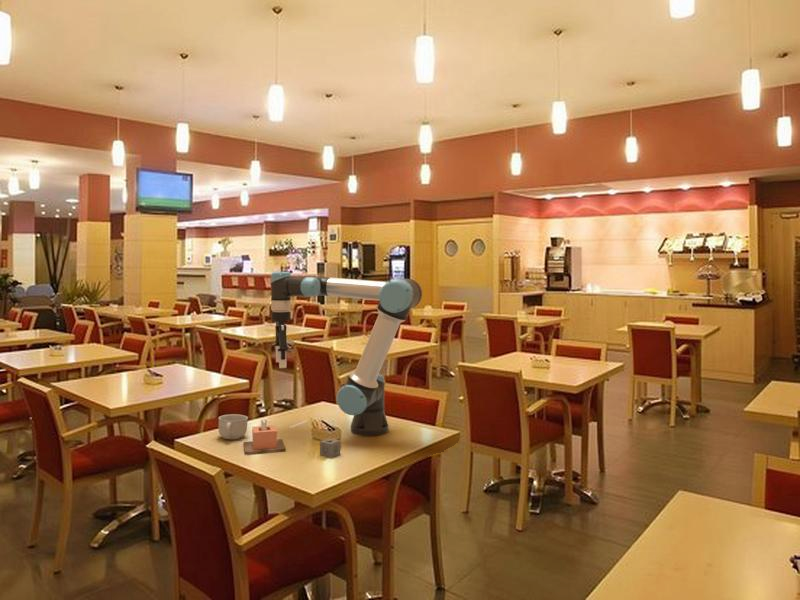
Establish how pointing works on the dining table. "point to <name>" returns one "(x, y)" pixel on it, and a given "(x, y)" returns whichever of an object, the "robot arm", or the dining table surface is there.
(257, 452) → the brown base with post
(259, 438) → the pink upright block
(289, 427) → the butter knife
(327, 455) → the dice cube
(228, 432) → the teacup
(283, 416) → the dining table surface
